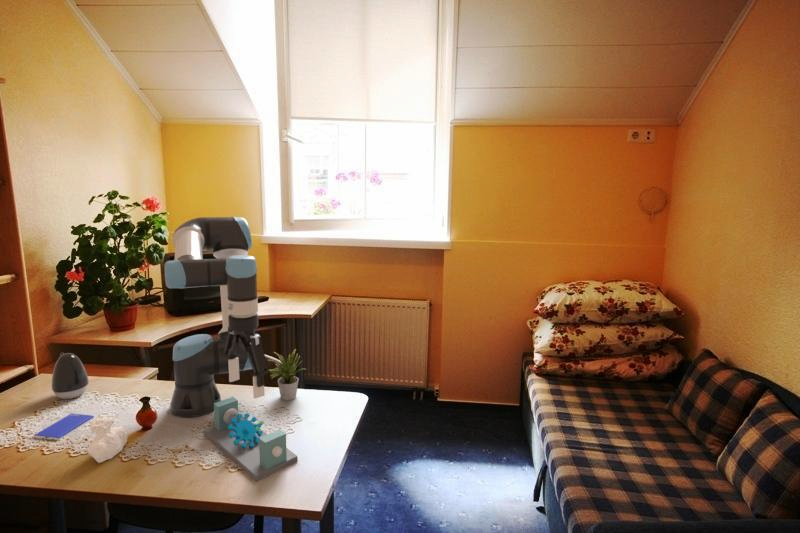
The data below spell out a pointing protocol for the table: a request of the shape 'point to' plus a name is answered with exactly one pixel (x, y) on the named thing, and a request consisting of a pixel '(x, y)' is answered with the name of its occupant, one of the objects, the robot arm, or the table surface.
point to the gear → (245, 430)
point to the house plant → (287, 377)
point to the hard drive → (64, 426)
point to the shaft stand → (254, 460)
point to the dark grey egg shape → (69, 377)
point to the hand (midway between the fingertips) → (246, 388)
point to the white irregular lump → (106, 439)
